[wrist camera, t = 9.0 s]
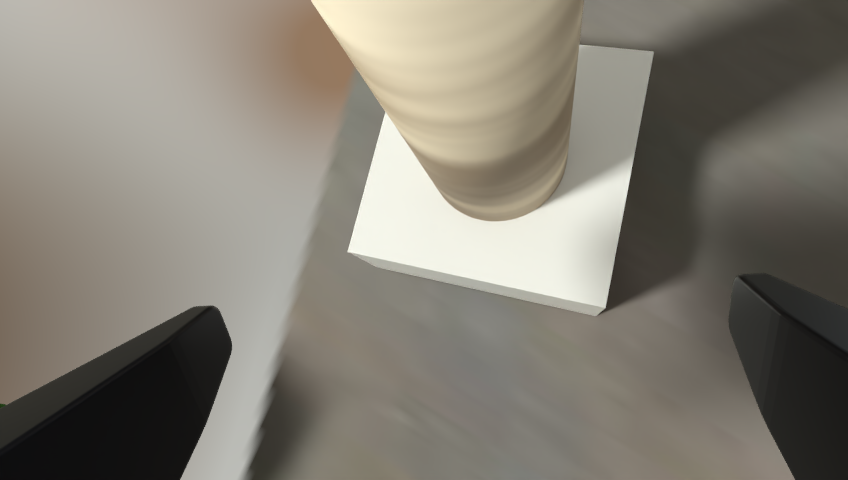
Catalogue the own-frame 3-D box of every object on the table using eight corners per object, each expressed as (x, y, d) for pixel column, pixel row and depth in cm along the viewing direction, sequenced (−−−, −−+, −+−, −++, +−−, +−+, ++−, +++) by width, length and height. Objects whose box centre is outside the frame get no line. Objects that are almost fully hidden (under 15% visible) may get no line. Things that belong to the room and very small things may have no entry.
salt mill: (586, 197, 18) (678, -165, 5) (449, 238, 18) (249, 5, 6) (543, 74, 19) (537, -456, 7) (416, 116, 20) (194, -283, 7)
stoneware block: (595, 316, 20) (605, 307, 17) (377, 267, 23) (347, 251, 19) (637, 98, 22) (654, 51, 18) (427, 74, 24) (408, 28, 21)
